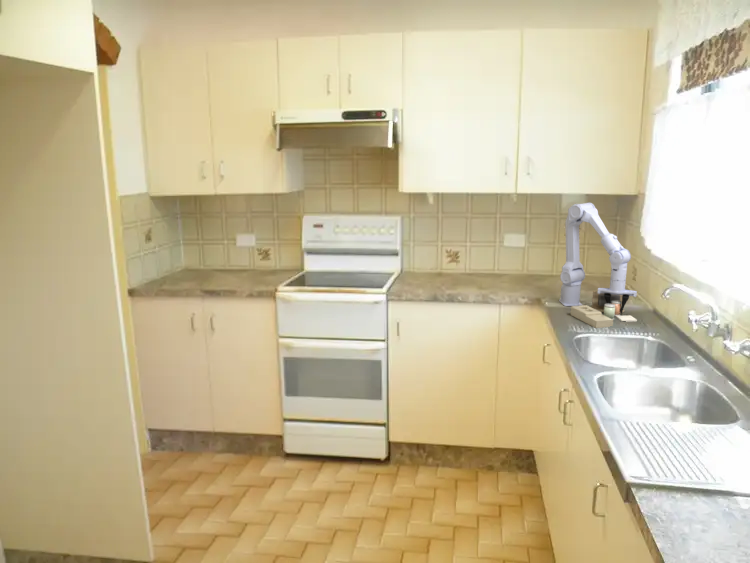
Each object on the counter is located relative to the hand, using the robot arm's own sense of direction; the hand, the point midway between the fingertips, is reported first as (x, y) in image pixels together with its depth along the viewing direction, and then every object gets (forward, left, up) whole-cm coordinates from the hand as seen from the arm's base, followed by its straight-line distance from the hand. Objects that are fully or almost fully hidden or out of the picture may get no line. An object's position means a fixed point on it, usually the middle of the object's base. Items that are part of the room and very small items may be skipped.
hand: (615, 311), depth 235 cm
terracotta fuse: (0, 0, -1) cm, 1 cm away
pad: (+6, +2, -1) cm, 6 cm away
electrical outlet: (+7, -12, -2) cm, 14 cm away
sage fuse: (+5, -5, -1) cm, 7 cm away
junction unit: (-7, -1, -1) cm, 7 cm away
